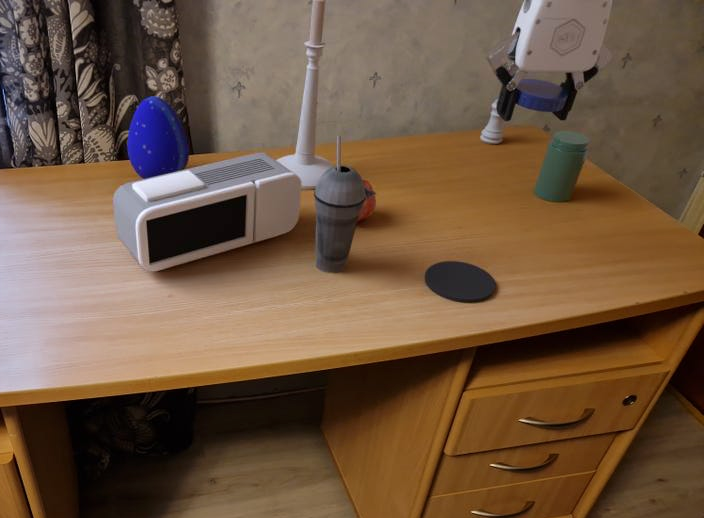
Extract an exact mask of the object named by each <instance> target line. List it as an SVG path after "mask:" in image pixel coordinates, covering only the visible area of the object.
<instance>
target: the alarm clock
mask: <svg viewBox="0 0 704 518" xmlns="http://www.w3.org/2000/svg"><path fill="white" fill-rule="evenodd" d="M276 160H277V159H274V158H273V157H272V156H271V155H269V154H268V153H266V152H264V151H263V152H254V153H250V154H246V155H242V156H241V155H240V156H237V157H233V158H229V159H225V160H220V161H216V162H211V163H208V164H203V165H199V166H194V167H190V168H185V169H184V170H181V171H177V172H173V173H168V174H164V175H160V176H155V177H151V178H147V179H143V178H142V179H139V180H135V181H129V182H126V183H124V184H122V185H120V186H119V187H118V188H117V189H116V190H115V192H114V194H113V195H112V196H113V198H112V205H113V215H114V224H115V232H116V236H117V239H118V240H119V241H120V242H121V244H122V245H123V246H124V247H125V248H126V250H127V251H128V252H129V253H130V254H131V256H132V257H133V258H134V259H135V260H136V261H137V262H138V264H139V265H140V267H142V268H143V269H144V270H145V271H148V272H158V271H162V270H167V269H169V268H172V267H177V266H180V265H183V264H186V263H190V262H193V261H196V260H200V259H203V258H207V257H210V256H214V255H217V254H221V253H225V252H227V251H231V250H234V249H235V250H236V249H237V248H242V247H245V246H248V245H252V244H255V243H258V242H262V241H264V240H269V239H272V238H276V237H279V236H281V235H284V234H286V233H288V232H291V231H292V230H293V229H294V228H295V227H296V225H297V223H298V221H299V218H300V208H301V199H302V189H301V188H302V184H301V179H300V178H299V176H297V175H296V174H294V173H293V172H292V171H290V170H289V169H287V168H286V167H285V166H283V165H282V164H280V163H279V162H277V161H276Z"/></svg>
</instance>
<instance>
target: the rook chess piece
mask: <svg viewBox="0 0 704 518" xmlns="http://www.w3.org/2000/svg"><path fill="white" fill-rule="evenodd" d="M497 102H498V98H497V99H494V102H492V104H491V108H492V110H491V111H490V117H489V120H488V122H487V124H486V126H485V127H484V129H483V130H482V131H481V135H479V139H480V140H481V142H482V143H484V144H488V145H498V144H501V143H502V142H503V138H504V132H503V123H504V120H503V119H502V118H501V117H500V116H499V115H498V114H497V110H496V106H497Z"/></svg>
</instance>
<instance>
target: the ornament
mask: <svg viewBox="0 0 704 518" xmlns="http://www.w3.org/2000/svg"><path fill="white" fill-rule="evenodd" d="M126 147H127V154H128V159H129V163H130V164H131V166H132V168H133V170H134V171H135V173H136V174H137V175H138V176H139V177H140V178H141V179H142V180H143V179H147V178H151V177H155V176H160V175H164V174H168V173H173V172H177V171H181V170H185V169H186V167H187V165H188V163H189V158H190V148H189V143H188V139H187V136H186V133H185V130H184V128H183V125H182V122H181V121H180V119H179V117H178V115H177V114H176V112H175V111H174V109H173V108H172V107H171V106H170V105H169V103H168V102H167V101H166V100H164V99H163V98H161V97H159V96H156V95H154V96H153V95H151V96H149V97H147V98H144V100H142V101H141V102H140V103H139V104H138V106H137V108H136V110H135V111H134V114H133V116H132V119H131V122H130V125H129V130H128V134H127V145H126Z"/></svg>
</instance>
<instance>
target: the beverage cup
mask: <svg viewBox="0 0 704 518" xmlns="http://www.w3.org/2000/svg"><path fill="white" fill-rule="evenodd" d="M336 148H337V149H336V165H334V166H335V167H332V168H330V169H329V170H327V171H326V172H325V173H324V174H323V175H322V176H321V178H320V179H319V181H318V183H317V185H316V189H314V191H313V197H314V206H315V216H316V217H315V266H316V268H317V269H318V270H320V271H322V272H323V273H324V272H325V273H329V274H330V273H331V274H332V273H333V274H336V273H340V272H342V271H343V270H345V269H346V266H347V262H348V259H349V256H350V252H351V249H352V244H353V241H354V235H355V232H356V228H357V224H358V222H359V221H358V217H359V213H360V211H361V209H362V206H363V203H364V201H365V199H366V198H365V186H364V182H363V180H364V179H363V177H362V176H361V174H360V173H359V172H358V171H357V170H356V169H354V168H352V167H351V166H348V165H341V162H342V161H341V160H342V159H341V158H342V156H341V155H342V135H341V134H339V133H338V134H336Z"/></svg>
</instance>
